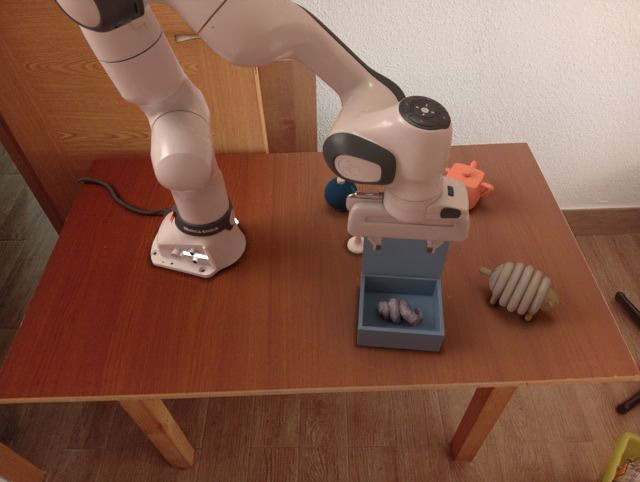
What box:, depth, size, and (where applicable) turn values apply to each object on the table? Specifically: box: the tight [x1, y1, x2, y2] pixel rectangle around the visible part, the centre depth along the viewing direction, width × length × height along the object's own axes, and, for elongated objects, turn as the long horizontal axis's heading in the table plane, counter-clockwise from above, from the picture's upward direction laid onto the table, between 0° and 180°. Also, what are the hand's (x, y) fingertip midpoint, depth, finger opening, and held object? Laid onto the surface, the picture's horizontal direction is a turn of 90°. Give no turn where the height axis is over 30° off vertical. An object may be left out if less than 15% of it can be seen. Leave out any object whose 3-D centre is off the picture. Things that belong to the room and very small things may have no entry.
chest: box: [356, 272, 446, 353], centre depth 100 cm, size 14×17×7 cm
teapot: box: [444, 160, 495, 210], centre depth 121 cm, size 12×12×10 cm
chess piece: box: [346, 236, 364, 254], centre depth 112 cm, size 5×5×10 cm
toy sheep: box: [478, 261, 561, 322], centre depth 100 cm, size 11×17×11 cm, turn 61°
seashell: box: [375, 298, 423, 326], centre depth 100 cm, size 5×5×10 cm
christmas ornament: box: [323, 176, 358, 211], centre depth 120 cm, size 8×8×10 cm
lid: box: [360, 237, 451, 279], centre depth 98 cm, size 14×17×5 cm
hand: (403, 248), depth 87 cm, fingers open, 8 cm apart
